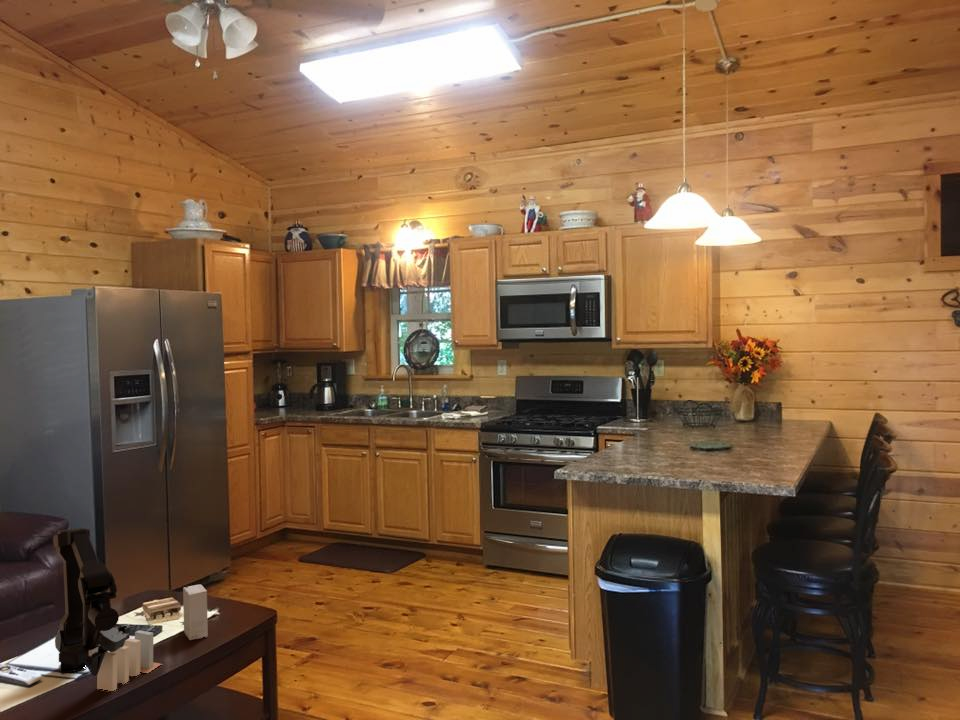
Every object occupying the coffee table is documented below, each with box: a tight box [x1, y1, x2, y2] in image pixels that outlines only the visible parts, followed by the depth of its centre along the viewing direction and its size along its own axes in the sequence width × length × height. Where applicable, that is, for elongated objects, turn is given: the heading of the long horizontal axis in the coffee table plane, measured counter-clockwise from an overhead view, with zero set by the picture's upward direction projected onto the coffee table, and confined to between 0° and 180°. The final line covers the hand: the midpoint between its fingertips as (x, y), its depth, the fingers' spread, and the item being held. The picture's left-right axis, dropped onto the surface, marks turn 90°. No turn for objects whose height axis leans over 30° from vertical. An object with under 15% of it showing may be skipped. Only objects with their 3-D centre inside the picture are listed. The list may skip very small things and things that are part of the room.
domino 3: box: [124, 637, 141, 677], centre depth 214 cm, size 2×5×10 cm, turn 74°
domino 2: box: [111, 646, 130, 685], centre depth 209 cm, size 2×5×10 cm, turn 74°
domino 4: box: [134, 630, 154, 669], centre depth 218 cm, size 2×5×10 cm, turn 74°
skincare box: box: [182, 584, 209, 641], centre depth 241 cm, size 8×6×15 cm
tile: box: [140, 661, 163, 674], centre depth 218 cm, size 9×6×1 cm, turn 74°
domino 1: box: [96, 651, 118, 692], centre depth 205 cm, size 2×5×10 cm, turn 74°
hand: (94, 675), depth 201 cm, fingers closed
